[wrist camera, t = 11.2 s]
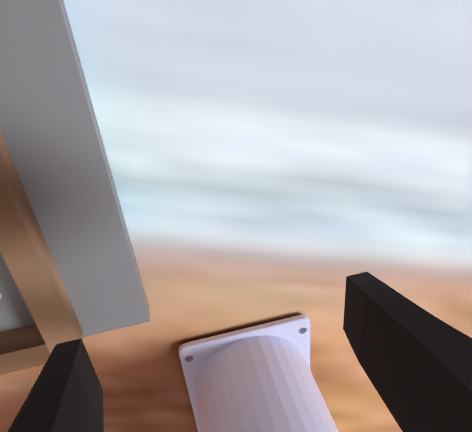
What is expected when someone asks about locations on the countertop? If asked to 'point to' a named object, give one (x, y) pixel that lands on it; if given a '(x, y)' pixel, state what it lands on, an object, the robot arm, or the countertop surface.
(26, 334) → the jig board
